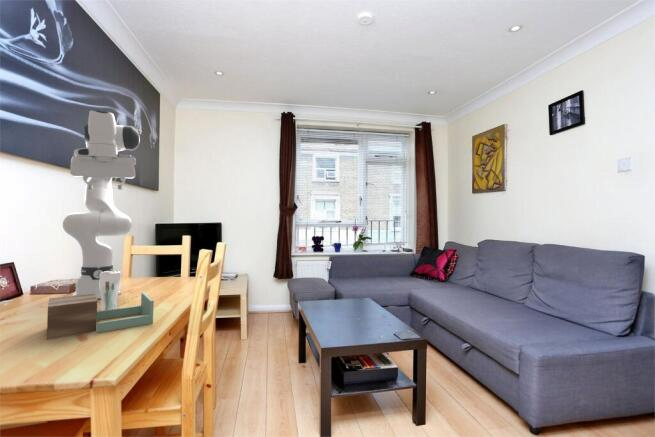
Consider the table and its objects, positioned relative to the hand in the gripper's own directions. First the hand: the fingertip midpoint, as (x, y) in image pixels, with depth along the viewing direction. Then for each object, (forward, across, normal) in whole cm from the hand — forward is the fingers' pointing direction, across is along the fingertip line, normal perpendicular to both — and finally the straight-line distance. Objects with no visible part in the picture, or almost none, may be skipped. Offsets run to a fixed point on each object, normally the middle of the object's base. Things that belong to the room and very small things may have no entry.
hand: (105, 189), depth 119 cm
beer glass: (+48, +1, -3) cm, 48 cm away
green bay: (+47, -4, +17) cm, 50 cm away
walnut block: (+47, +10, +18) cm, 51 cm away
